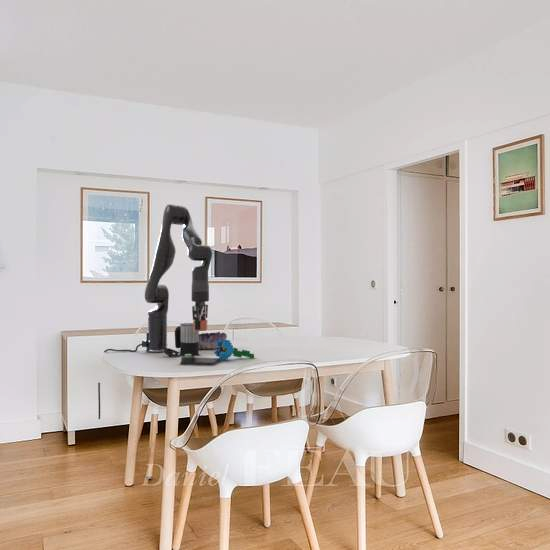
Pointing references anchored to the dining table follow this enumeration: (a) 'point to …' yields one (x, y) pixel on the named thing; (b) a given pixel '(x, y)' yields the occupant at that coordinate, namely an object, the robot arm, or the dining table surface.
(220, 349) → the toy flower
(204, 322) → the bowl
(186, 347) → the milk frother
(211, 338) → the geode
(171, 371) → the dining table surface
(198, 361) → the scale
